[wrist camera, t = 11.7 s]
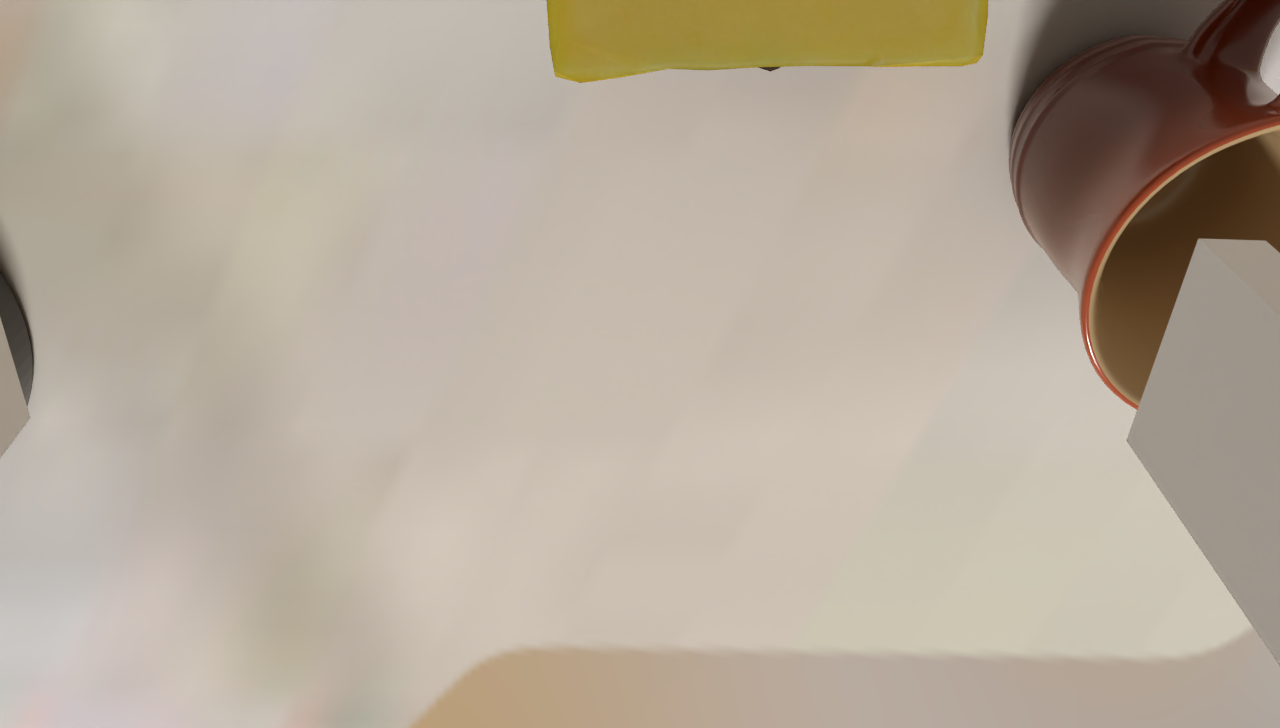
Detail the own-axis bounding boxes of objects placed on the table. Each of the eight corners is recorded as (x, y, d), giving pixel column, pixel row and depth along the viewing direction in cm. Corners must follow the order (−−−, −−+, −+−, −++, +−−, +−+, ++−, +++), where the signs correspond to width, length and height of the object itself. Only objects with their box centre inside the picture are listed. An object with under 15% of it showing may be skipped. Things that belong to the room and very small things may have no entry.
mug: (1167, 278, 39) (1321, 454, 30) (935, 227, 38) (1026, 395, 29) (1361, -71, 33) (1624, 25, 24) (1090, -145, 32) (1264, -71, 23)
